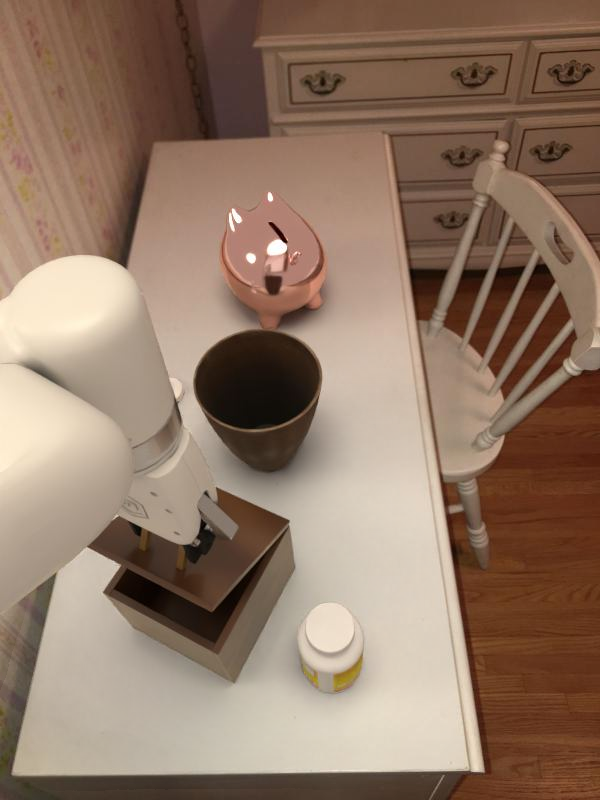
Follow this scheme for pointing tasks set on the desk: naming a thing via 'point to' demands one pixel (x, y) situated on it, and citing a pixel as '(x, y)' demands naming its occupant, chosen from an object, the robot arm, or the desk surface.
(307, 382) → the flower pot
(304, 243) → the piggy bank
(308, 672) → the supplement bottle
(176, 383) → the chess piece
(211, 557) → the brown wooden box lid
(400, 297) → the desk surface
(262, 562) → the chest
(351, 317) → the desk surface
